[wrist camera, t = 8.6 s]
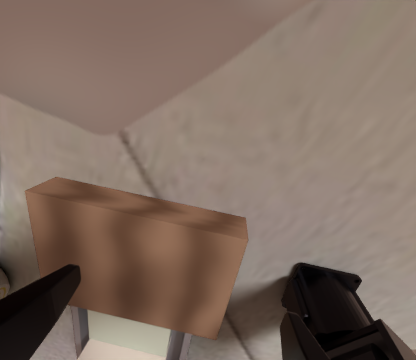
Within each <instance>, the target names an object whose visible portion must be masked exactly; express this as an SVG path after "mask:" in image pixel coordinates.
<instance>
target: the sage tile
mask: <svg viewBox="0 0 416 360" xmlns="http://www.w3.org/2000/svg"><path fill="white" fill-rule="evenodd" d="M87 311H88V327H89V339H93V340H97V341H101V342H105V343H109V344H114V345H118V346H122V347H126V348H130V349H134V350H138V351H142V352H146V353H150V354H154V355H159V356H163V357H166V354H167V350H168V346H169V342H170V338H171V334H172V330H171V329H167V328H163V327H159V326H154V325H150V324H146V323H142V322H138V321H133V320H129V319H125V318H121V317H117V316H112V315H108V314H104V313H100V312H96V311H91V310H87Z"/></svg>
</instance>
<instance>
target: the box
mask: <svg viewBox="0 0 416 360" xmlns="http://www.w3.org/2000/svg"><path fill="white" fill-rule="evenodd" d="M71 309H72V318H73V327H74V336H75V344H76V353H77V359H78V358H79V356H80V354H81V353H82V351H83V349H84V348H85V346H86V344H87V343H88V341H89V327H88V311H87V309H83V308H79V307H74V306H71ZM191 337H192V334H188V333H184V332H180V331H176V330H172V334H171V341H170V347H169V351H168V355H167V359H166V360H186V358H187V353H188V349H189V345H190V341H191Z"/></svg>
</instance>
